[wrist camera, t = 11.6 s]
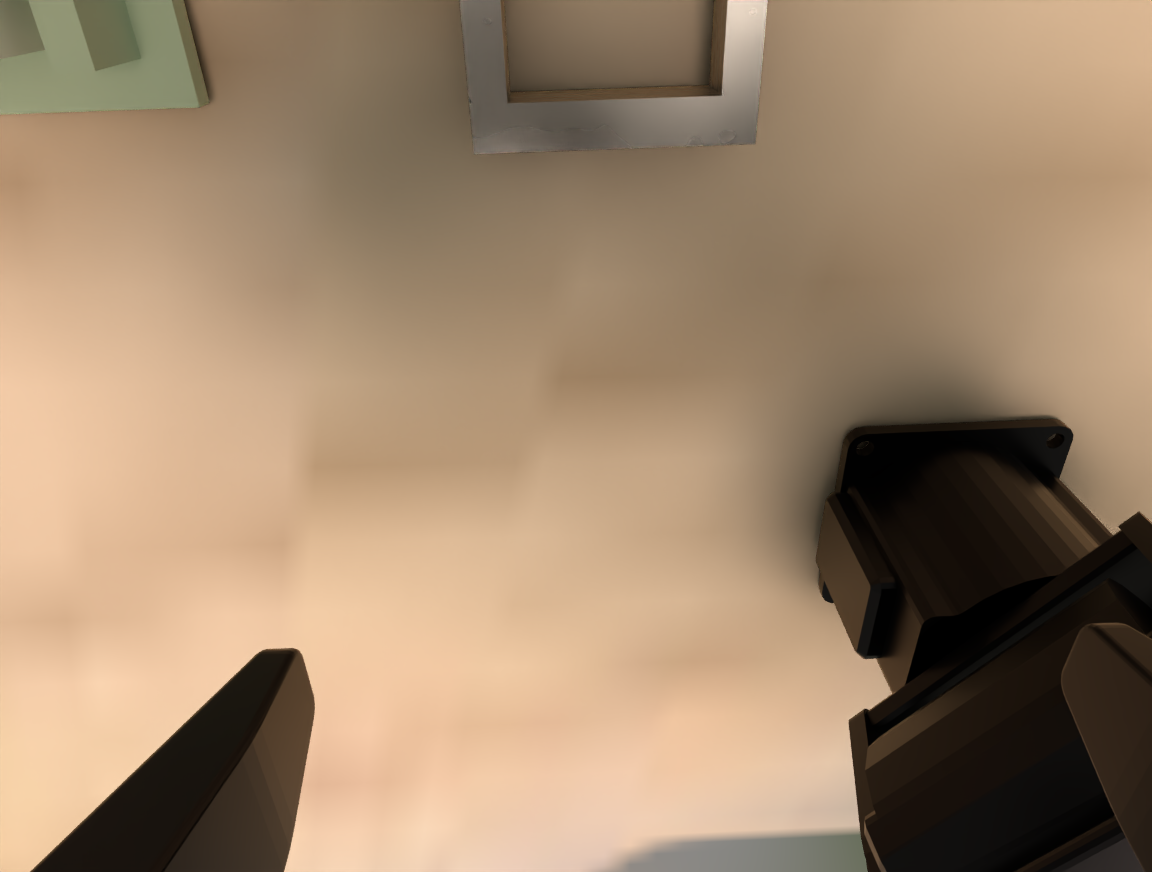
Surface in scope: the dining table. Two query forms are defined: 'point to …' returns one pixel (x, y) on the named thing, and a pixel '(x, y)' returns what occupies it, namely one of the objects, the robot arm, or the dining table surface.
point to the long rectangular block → (18, 29)
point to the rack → (615, 94)
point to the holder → (105, 59)
